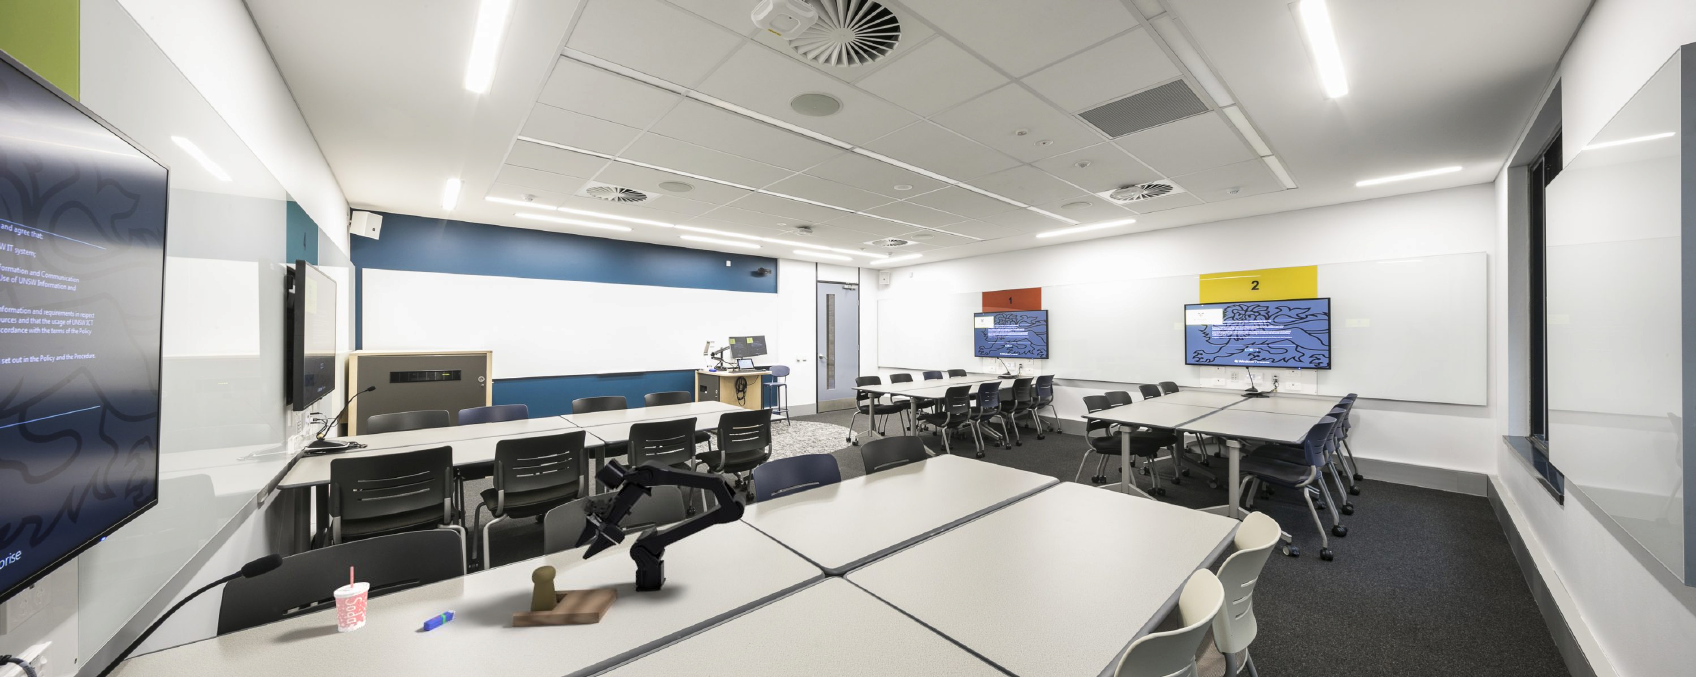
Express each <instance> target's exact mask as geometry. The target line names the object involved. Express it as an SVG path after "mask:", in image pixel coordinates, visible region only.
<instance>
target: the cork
mask: <svg viewBox="0 0 1696 677" xmlns="http://www.w3.org/2000/svg"><path fill="white" fill-rule="evenodd" d="M531 573H532V575H531V581H532V583H533V584H534V585H533V591H532V597H531V604H530V611H529V612H533V611H552V610H553V609H554V608H555V607H556V606H557V605H558V603H557V600H556V593H555V591H556V589H555V581H554V579H555V578H556V576H557V571H556V568H555V567H554V566H552V565H543V566H539V567H537V568H536V569H534V570H533V572H531Z"/></svg>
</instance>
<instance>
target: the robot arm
mask: <svg viewBox="0 0 1696 677" xmlns="http://www.w3.org/2000/svg"><path fill="white" fill-rule="evenodd" d="M593 479H594V480H596V481H597V482H598V483H601V485H603V486H604V487H605V488H606V489H608V490H609V491H614V490H615V491H617V490H618V489H619V488H620V487H621V486H622V487H621V488H620V490H618V492H617V493H616V494H615V495H614V496H609V497H607V499H604V498H602V499H601V498H600V497H594V496H590V495H585V497H584V498H583V501H582V503H581V505H580V509H581V510H582V511H583V512H584V515H583V520H584V525H583V527H582V529H581V531H580V533H579V535H578V537H577V539H576V541H575V543H574V544H573V547H574V548H576V549H578V548H580V547H581V546H583V545H585V544H586V543H587V542H588V541H590V540H591V539H592V538H594V537H595V538H594V539H593V540H592V542H591V544H590V545H589V546H588V548H587V549H586V550H585V552H584V554H583V555H582V559H583V560H584V561H586V560H588V559H590V558H592V557H594V556H596V555H598V554H599V553H601V552H603V551H605V550H608V549H609V548H611V547H613V546H614V547H615V546H617V544H618V545H621V544H622V543H623V541H624V540H625V539H626V533H625V531H623V529H621V524H620V523H621V522H622V521H623V520H624V519H625V518H626V516H629V517H630V516H631V515H632V514H633V512H632V509H633V508H634V507H635V506H636V505H637V503H638V502H639V501H640V500H641V499H642V498H643V496H644V495H646V496H647V497H648V498H651V497H652V495H653V494H652V491H653V490H652V489H653V487H659V486H660V487H661V486H663V485H664V486H665V485H673V486H679V487H686V488H693V489H699V490H700V489H701V490H707V491H711V492H712V493H713V495H714V497H715V499H716V500H717V504H715V506H713V507H712V508H711V509H708V510H706V511H703V512H702V513H699V514H696V515H695V516H692V517H689V518H688V519H685V520H683V521H681V522H678V523H676V524H674V525H672V526H670V527H667V528H665V529H658V528H657V525H654V526H652V527H650V528H649V529H646V530H642V531H641V533H640V534H639V535H638V536H637V537H636V539H635V541H634V542H633V543H632V545H631V547H630V548H629V556H630V558H631V560H633V561H634V562H635V565H636V567H637V569H636V570H635V586H636V588H635V592H645V591H646V592H647V591H649V592H650V591H661V589H662V587H663V586H664V584H665V582H666V580H667V577H665V559H663V557H664V555H665V553H666V547H667V546H670V545H671V544H672V545H673V544H675V543H677V542H680V541H681V540H683V539H686V538H688V537H690V536H692V535H694V534H697V533H699V532H701V531H703V530H706V529H708V528H710V527H711V528H712V527H713V526H714V525H715V526H716V525H726V524H730V523H734V522H737V521H739V520H741V519H742V517H743V516H744V513H745V510H746V499H745V498H744V496H743V495H742V494H738V492H736V490H735V489H734V487H733V486H732V485H731V484H730V483H729V482H728V481H727V479H726V478H725V476H724V475H722V474H720V473H709V472H701V471H697V470H695V471H694V470H687V469H682V468H676V467H675V468H674V467H671V465H668V464H666V463H664V462H661V461H658V460H655V459H649V460H646V461H645V462H644V463H642V464H641V465H638V466H635V467H631V468H630V469H628V468H626V467H625V465H623V464H621V463H620V462H619V461H618V460H617V459H616V458H615V457H613V458H611V459H610V460H609V461H608V463H607V464H605V465H604V467H601V469H599V470H598V472H597V473H596V474H595V475H594V477H593ZM625 482H626V483H625ZM624 483H625V484H624ZM623 484H624V485H623Z"/></svg>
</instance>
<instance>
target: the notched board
mask: <svg viewBox="0 0 1696 677" xmlns="http://www.w3.org/2000/svg"><path fill="white" fill-rule="evenodd" d="M617 591H618V588H593V589H590V588H589V589H588V588H587V589H568V590H563V589H562V590H555V593H556V600H557V606H556V607H555V608H554V609H553V610H552V611H533V612H530V611H517V612H516V613H514V614H513V615H512V627H523V626H524V627H526V626H528V627H529V626H547V625H548V626H549V625H550V626H551V625H572V624H574V625H575V624H596V623H600V622H601V620H602V619H603V617H604V616H605V614H606V613H607V612H608V611H609V610H610V608H611V606H612V605H613V603H615V601H616V599H617V597H618V592H617Z"/></svg>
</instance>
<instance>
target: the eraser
mask: <svg viewBox="0 0 1696 677" xmlns="http://www.w3.org/2000/svg"><path fill="white" fill-rule="evenodd" d="M456 614H457V613H456V611H455V610H453V609H450V610H447V611H445V612H443V613H440V614H439V615H436V616H434V617H432V618H430V619H428V620H426V621H424V622H423V630H424V631H427V632H431V631H432V630H435V629H436V628H438V627H440V626H443V625H444V624H446V623H448V622H450V621H452V620H454V619H456Z"/></svg>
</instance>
